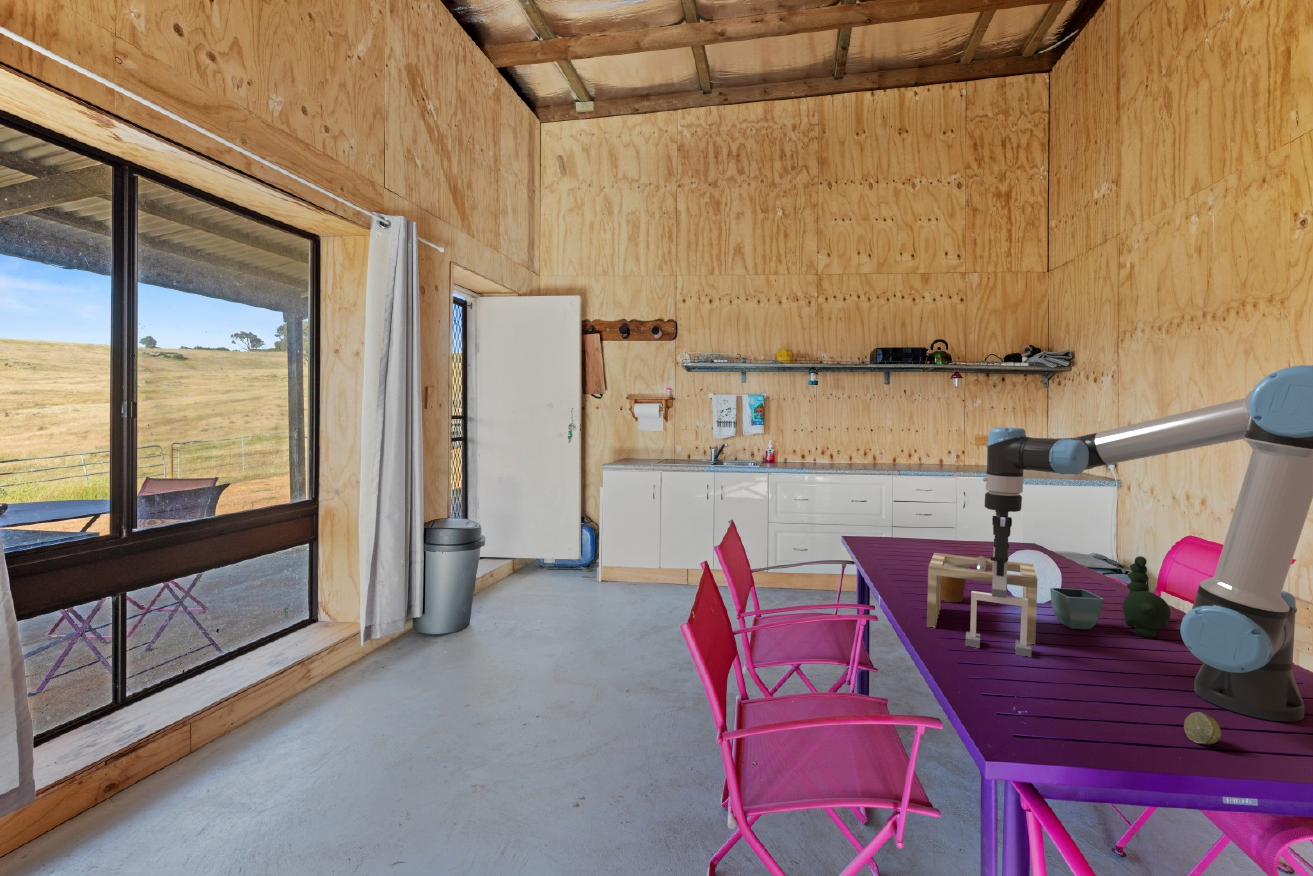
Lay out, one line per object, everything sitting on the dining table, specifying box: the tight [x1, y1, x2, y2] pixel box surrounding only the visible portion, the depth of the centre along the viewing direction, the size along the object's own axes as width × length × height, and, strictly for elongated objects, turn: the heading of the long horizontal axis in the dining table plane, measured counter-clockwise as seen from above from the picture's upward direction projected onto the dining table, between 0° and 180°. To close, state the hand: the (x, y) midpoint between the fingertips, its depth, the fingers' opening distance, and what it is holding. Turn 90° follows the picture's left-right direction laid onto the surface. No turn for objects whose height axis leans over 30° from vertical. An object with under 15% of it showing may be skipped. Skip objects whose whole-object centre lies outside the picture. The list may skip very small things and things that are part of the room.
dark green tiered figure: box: [1121, 555, 1172, 638], centre depth 154 cm, size 9×19×25 cm
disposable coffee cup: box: [941, 563, 970, 603], centre depth 178 cm, size 10×10×12 cm
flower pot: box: [1049, 587, 1105, 630], centre depth 156 cm, size 9×9×9 cm
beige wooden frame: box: [926, 552, 1039, 646], centre depth 157 cm, size 18×24×17 cm
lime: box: [1183, 711, 1222, 745], centre depth 101 cm, size 4×5×5 cm
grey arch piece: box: [964, 578, 1032, 658], centre depth 141 cm, size 5×13×16 cm, turn 60°
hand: (998, 581), depth 141 cm, fingers open, 13 cm apart
